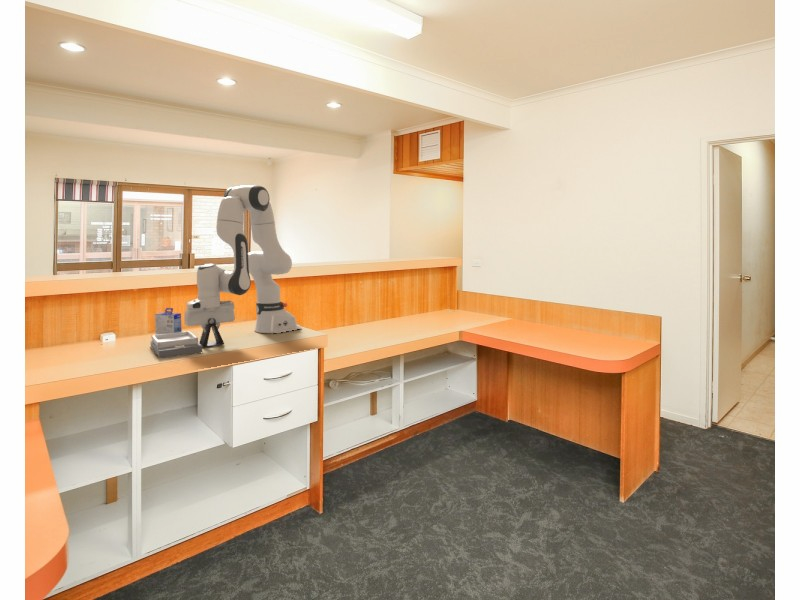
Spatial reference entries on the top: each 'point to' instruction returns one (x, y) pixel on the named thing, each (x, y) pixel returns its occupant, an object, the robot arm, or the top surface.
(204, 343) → the black mini tripod
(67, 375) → the top surface
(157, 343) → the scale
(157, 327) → the ink cartridge box
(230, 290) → the robot arm
